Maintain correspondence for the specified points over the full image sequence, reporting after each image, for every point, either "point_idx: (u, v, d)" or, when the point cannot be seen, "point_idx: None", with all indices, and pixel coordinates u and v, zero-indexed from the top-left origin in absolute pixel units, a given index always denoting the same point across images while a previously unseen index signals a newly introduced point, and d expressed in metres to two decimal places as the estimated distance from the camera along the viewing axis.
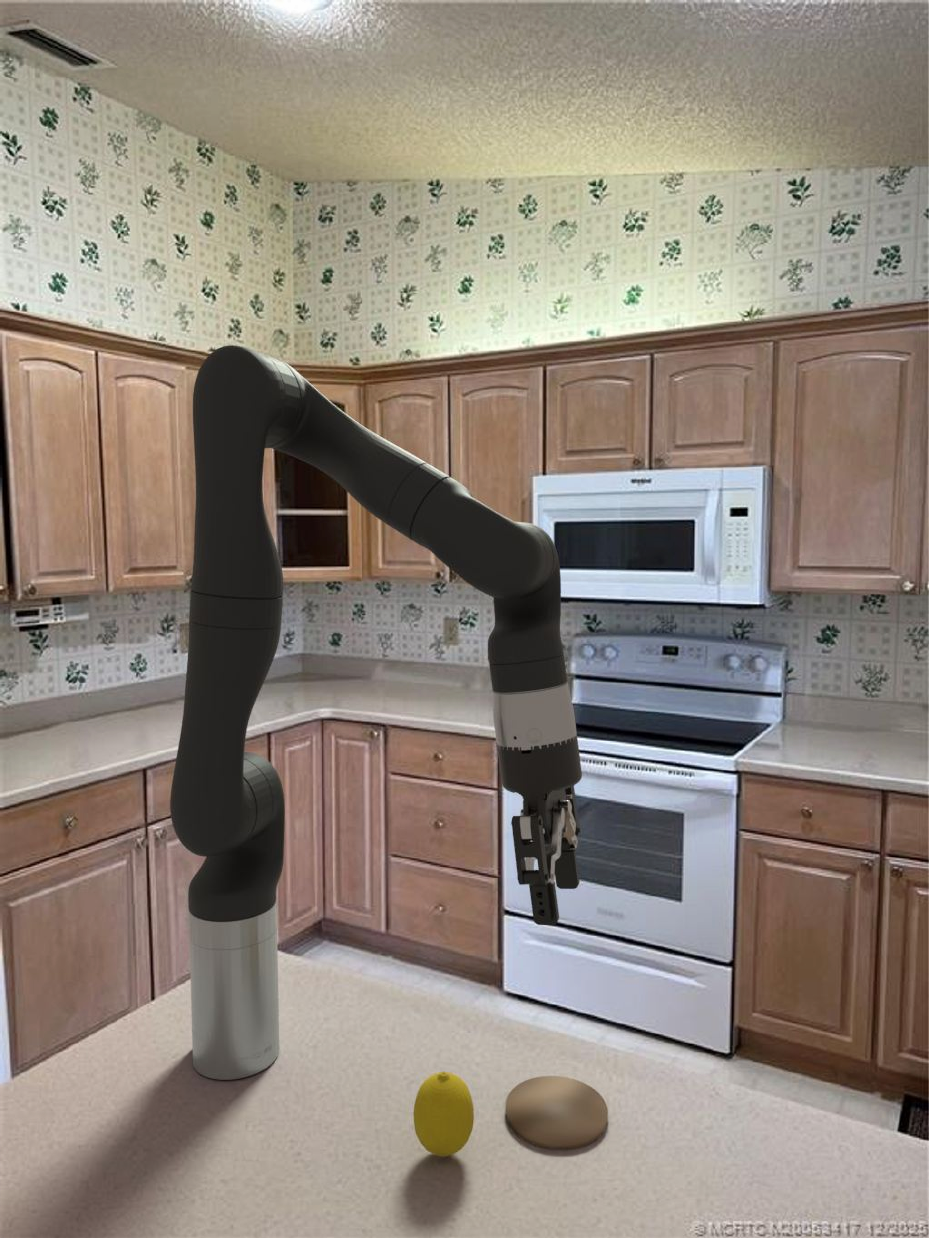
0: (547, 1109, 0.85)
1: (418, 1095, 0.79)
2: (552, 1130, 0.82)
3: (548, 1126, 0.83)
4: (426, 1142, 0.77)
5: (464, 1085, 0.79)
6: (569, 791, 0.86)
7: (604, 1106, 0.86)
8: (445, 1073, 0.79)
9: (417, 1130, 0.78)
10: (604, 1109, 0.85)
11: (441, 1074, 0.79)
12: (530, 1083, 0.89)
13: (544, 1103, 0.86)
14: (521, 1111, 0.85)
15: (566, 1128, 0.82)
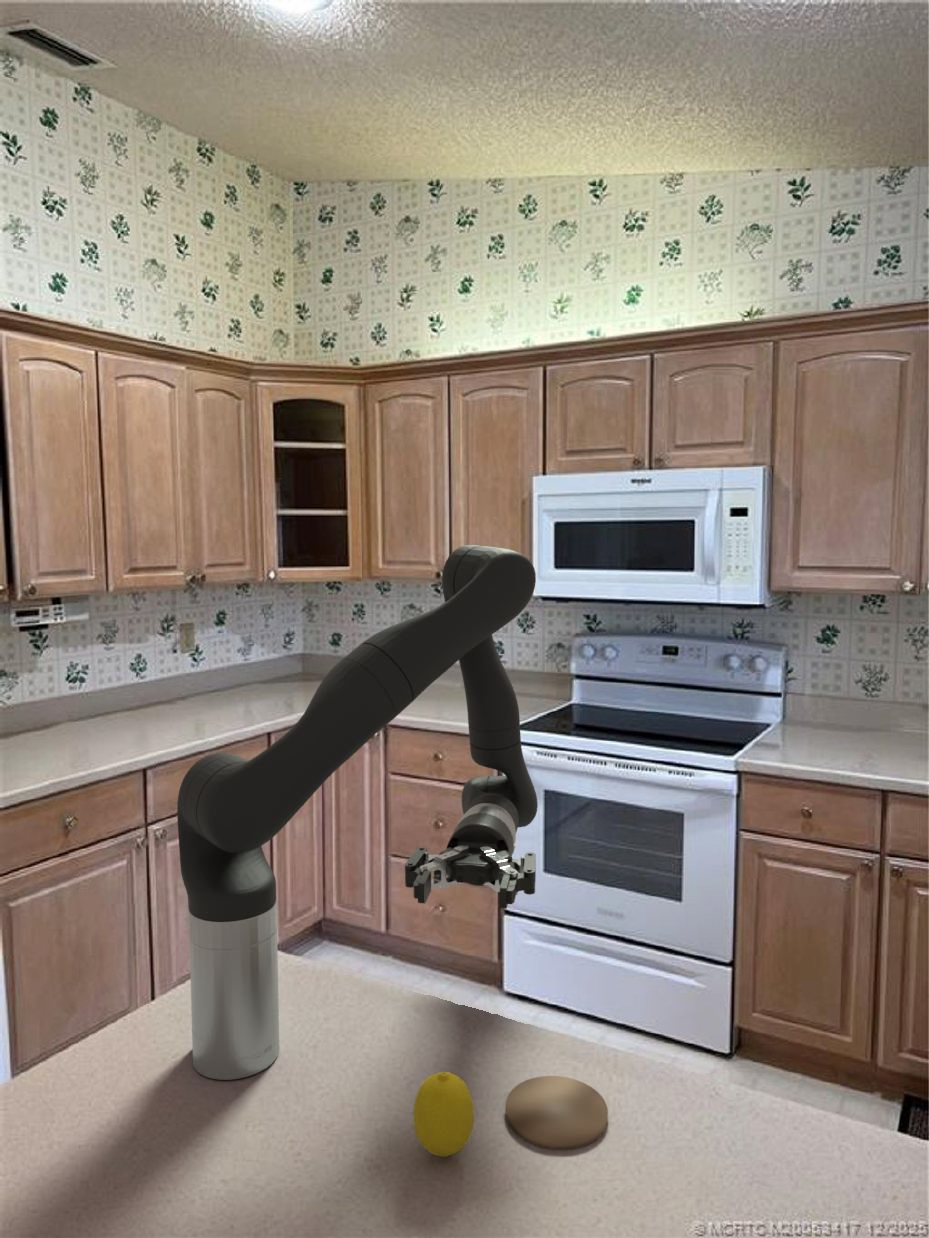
0: (547, 1109, 0.85)
1: (418, 1095, 0.79)
2: (552, 1130, 0.82)
3: (548, 1126, 0.83)
4: (426, 1142, 0.77)
5: (464, 1085, 0.79)
6: None
7: (604, 1106, 0.86)
8: (445, 1073, 0.79)
9: (417, 1130, 0.78)
10: (604, 1109, 0.85)
11: (441, 1074, 0.79)
12: (530, 1083, 0.89)
13: (544, 1103, 0.86)
14: (521, 1111, 0.85)
15: (566, 1128, 0.82)
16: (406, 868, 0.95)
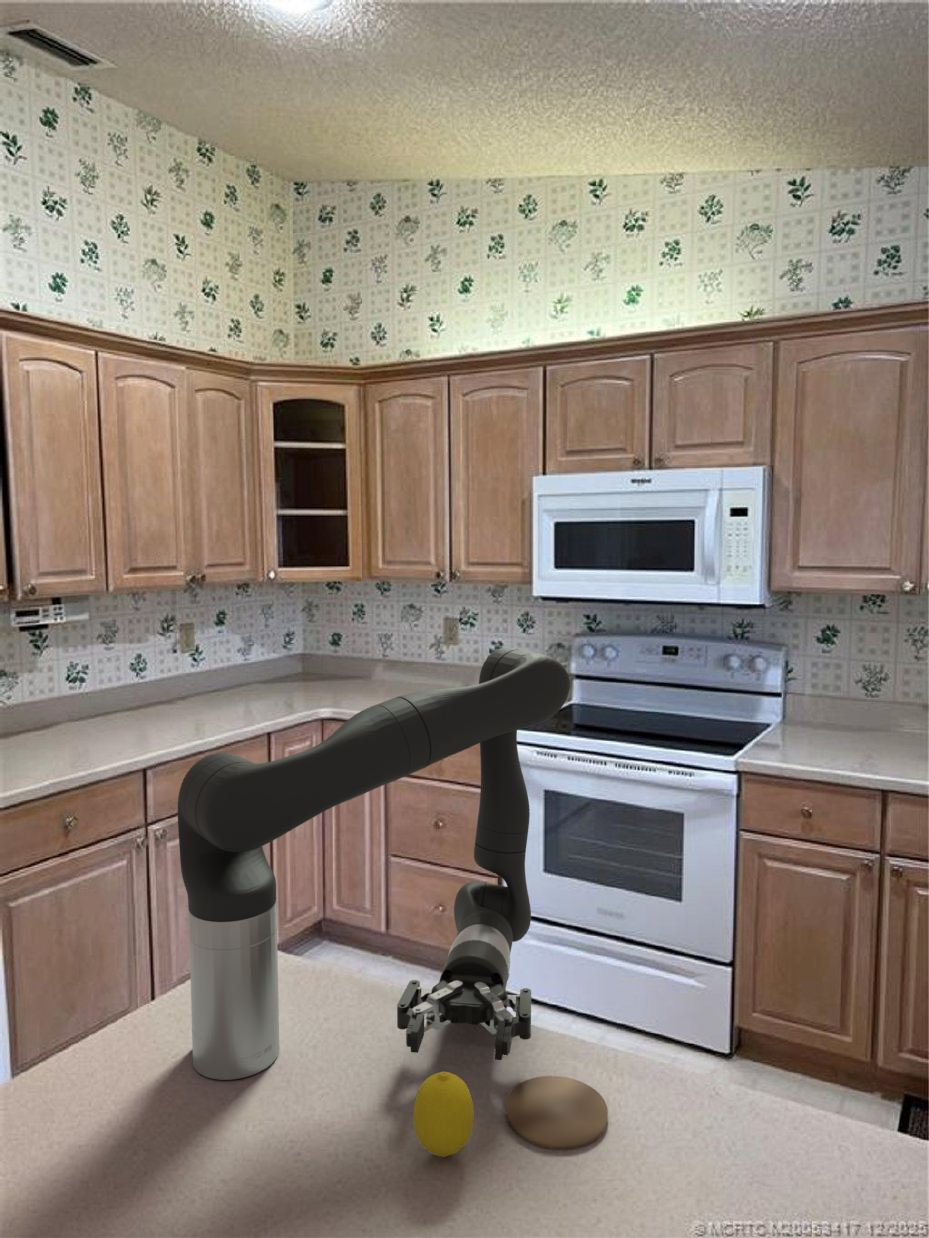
0: (547, 1109, 0.85)
1: (418, 1095, 0.79)
2: (552, 1130, 0.82)
3: (548, 1126, 0.83)
4: (426, 1142, 0.77)
5: (464, 1085, 0.79)
6: None
7: (604, 1106, 0.86)
8: (445, 1073, 0.79)
9: (417, 1130, 0.78)
10: (604, 1109, 0.85)
11: (441, 1074, 0.79)
12: (530, 1083, 0.89)
13: (544, 1103, 0.86)
14: (521, 1111, 0.85)
15: (566, 1128, 0.82)
16: (398, 1009, 0.92)
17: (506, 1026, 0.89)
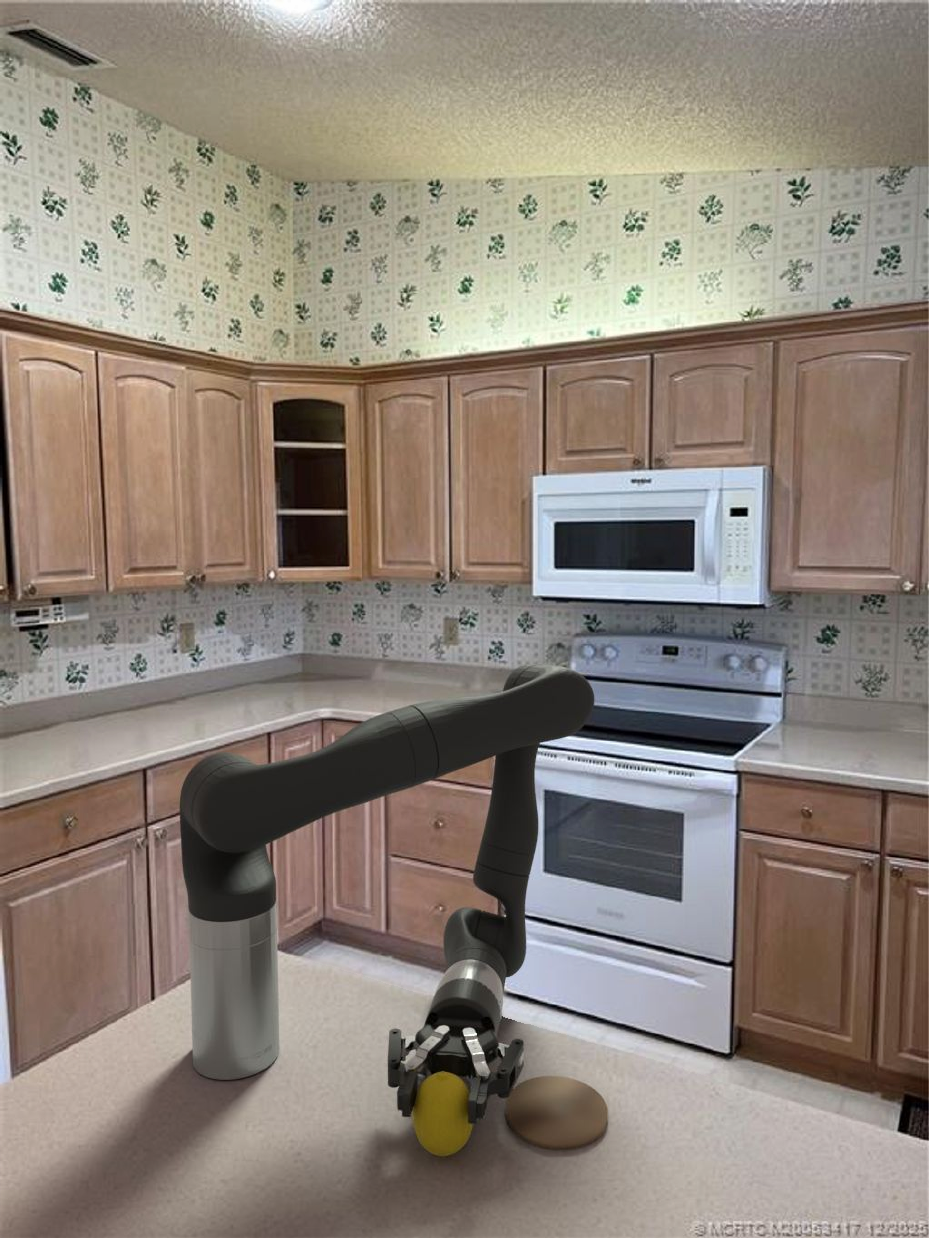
0: (547, 1109, 0.85)
1: (417, 1096, 0.79)
2: (552, 1130, 0.82)
3: (548, 1126, 0.83)
4: (426, 1142, 0.77)
5: (463, 1085, 0.79)
6: None
7: (604, 1106, 0.86)
8: (444, 1073, 0.79)
9: (417, 1130, 0.78)
10: (604, 1109, 0.85)
11: (440, 1074, 0.79)
12: (530, 1083, 0.89)
13: (544, 1103, 0.86)
14: (521, 1111, 0.85)
15: (566, 1128, 0.82)
16: (390, 1066, 0.82)
17: (482, 1084, 0.80)
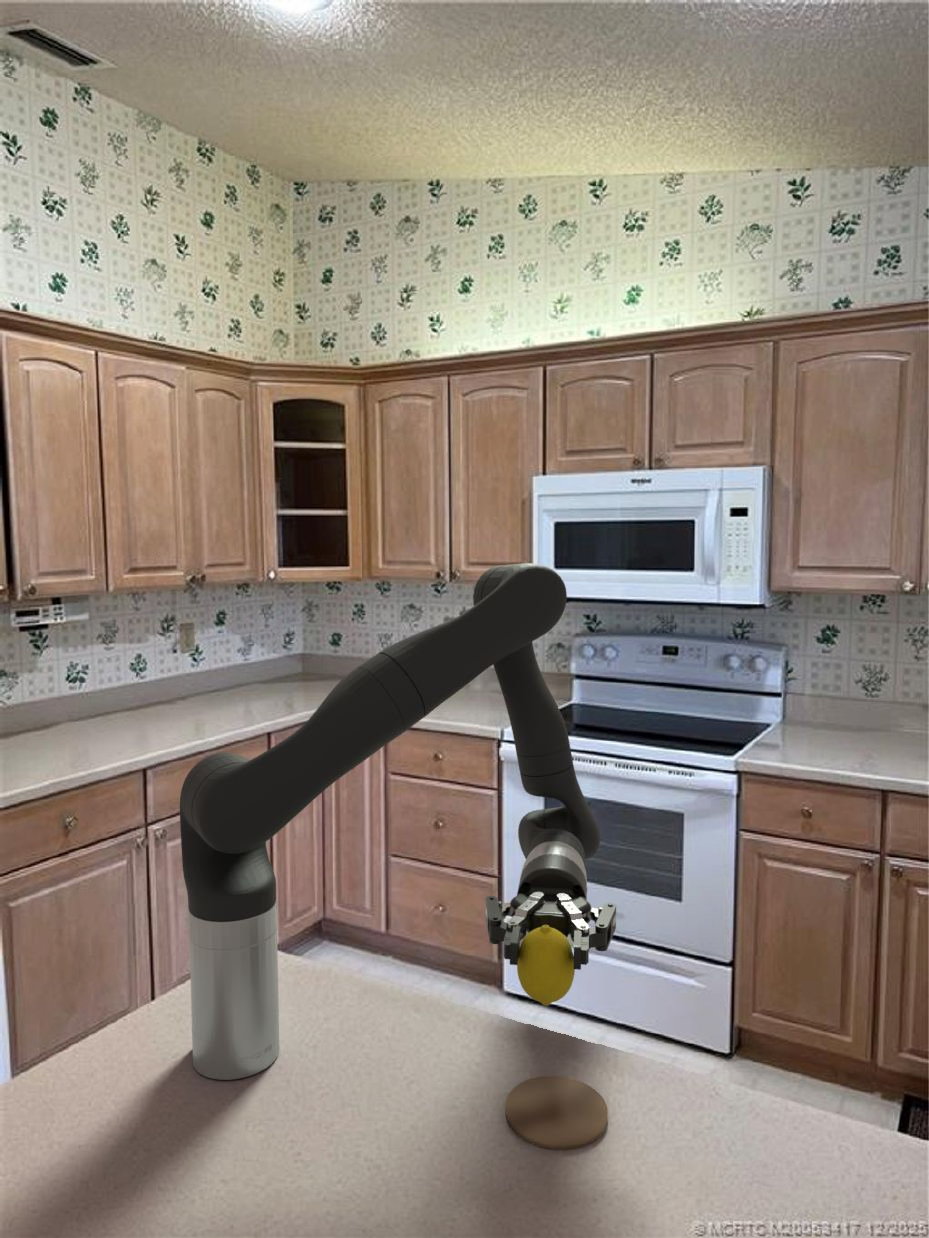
0: (547, 1109, 0.85)
1: (522, 947, 0.83)
2: (552, 1130, 0.82)
3: (548, 1126, 0.83)
4: (532, 988, 0.82)
5: (565, 937, 0.84)
6: None
7: (604, 1106, 0.86)
8: (547, 926, 0.83)
9: (522, 978, 0.82)
10: (604, 1109, 0.85)
11: (543, 926, 0.83)
12: (530, 1083, 0.89)
13: (544, 1103, 0.86)
14: (521, 1111, 0.85)
15: (566, 1128, 0.82)
16: (493, 923, 0.86)
17: (582, 936, 0.84)
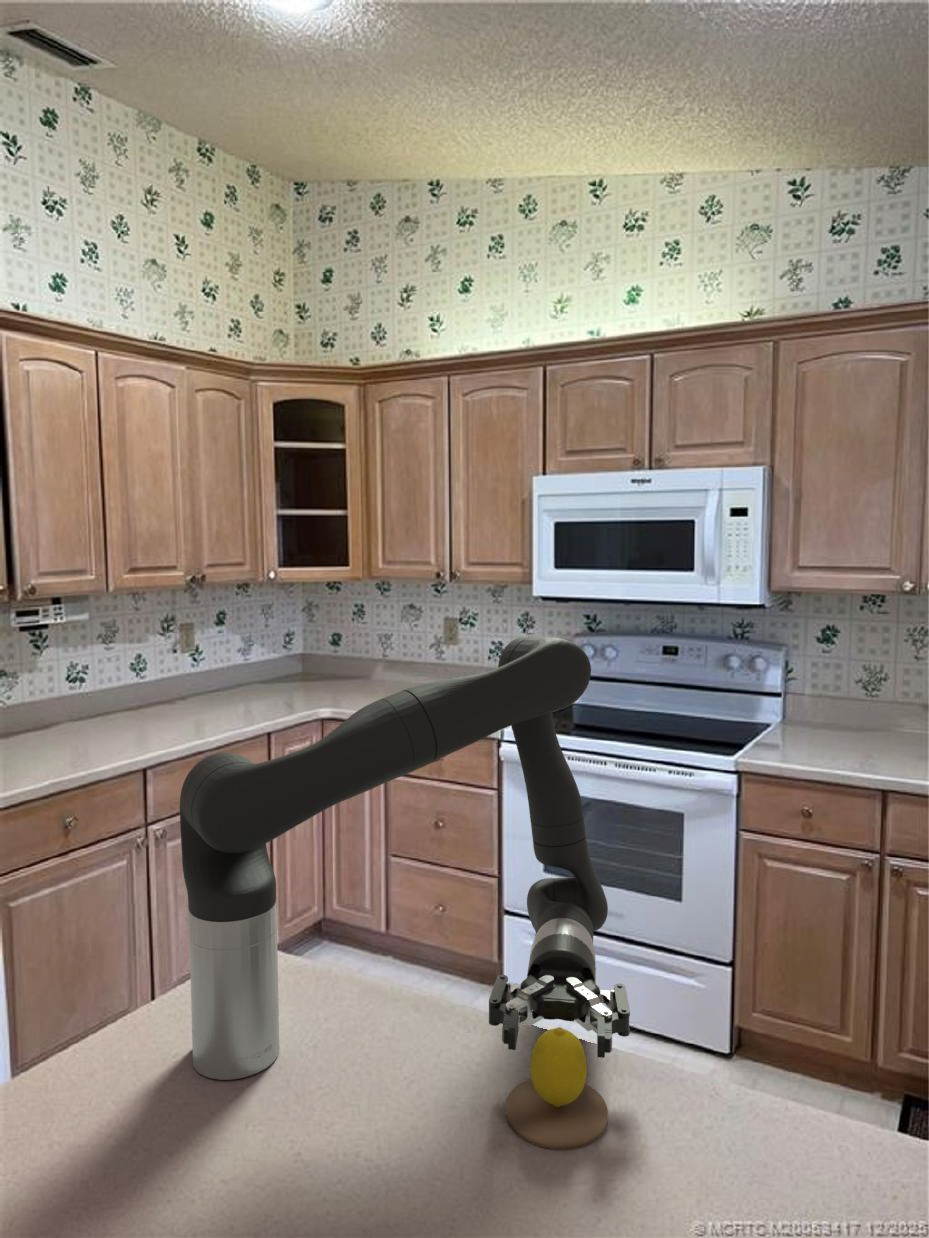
0: (547, 1109, 0.85)
1: (535, 1049, 0.85)
2: (552, 1130, 0.82)
3: (548, 1126, 0.83)
4: (545, 1092, 0.83)
5: (578, 1040, 0.85)
6: None
7: (604, 1106, 0.86)
8: (561, 1028, 0.85)
9: (535, 1080, 0.84)
10: (604, 1109, 0.85)
11: (557, 1029, 0.85)
12: (530, 1083, 0.89)
13: (544, 1103, 0.86)
14: (521, 1111, 0.85)
15: (566, 1128, 0.82)
16: (491, 1005, 0.89)
17: (605, 1022, 0.86)
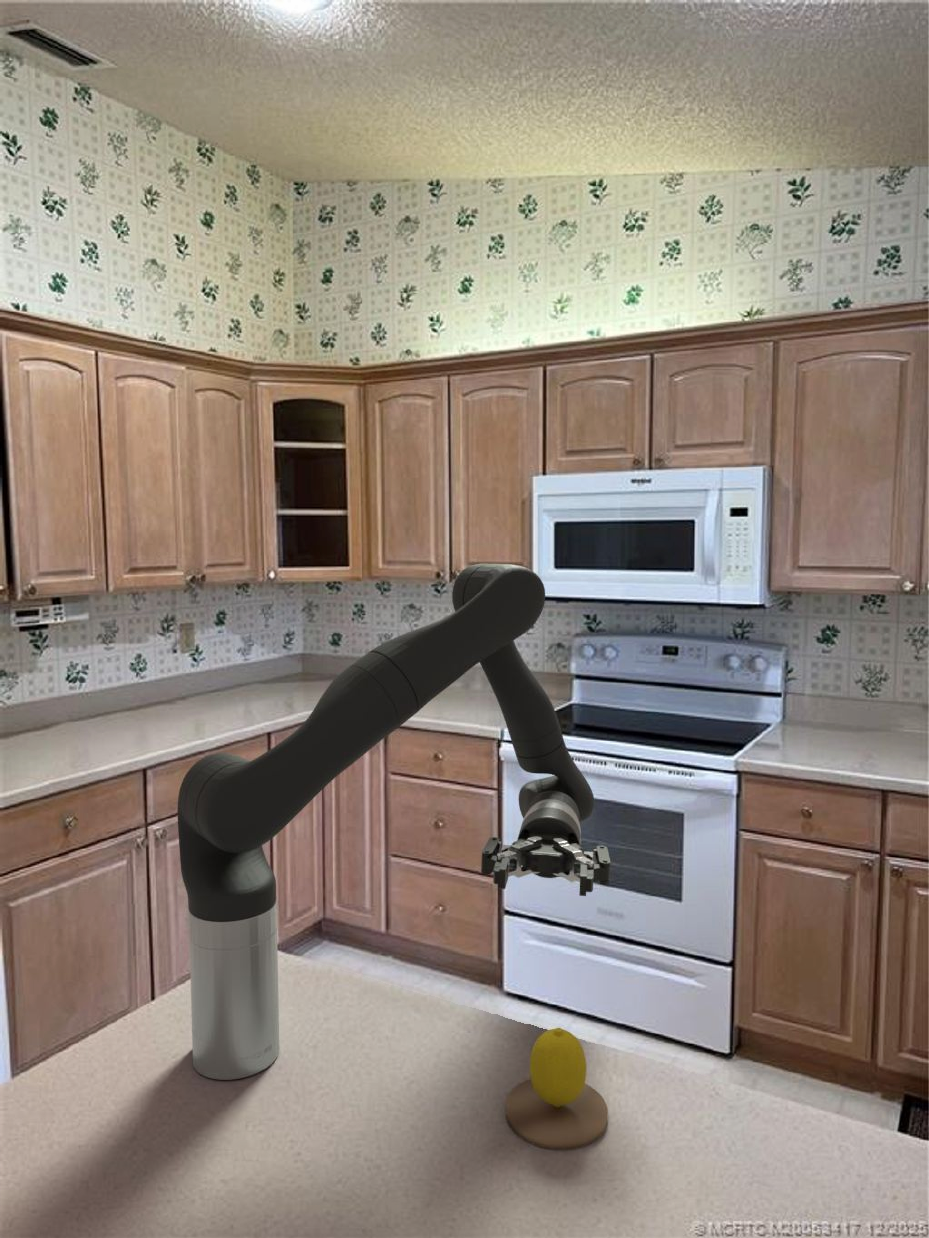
0: (547, 1109, 0.85)
1: (535, 1049, 0.85)
2: (552, 1130, 0.82)
3: (548, 1126, 0.83)
4: (544, 1092, 0.83)
5: (577, 1040, 0.85)
6: None
7: (604, 1106, 0.86)
8: (560, 1029, 0.85)
9: (535, 1081, 0.84)
10: (604, 1109, 0.85)
11: (556, 1030, 0.85)
12: (530, 1083, 0.89)
13: (544, 1103, 0.86)
14: (521, 1111, 0.85)
15: (566, 1128, 0.82)
16: (483, 855, 0.97)
17: (588, 869, 0.94)
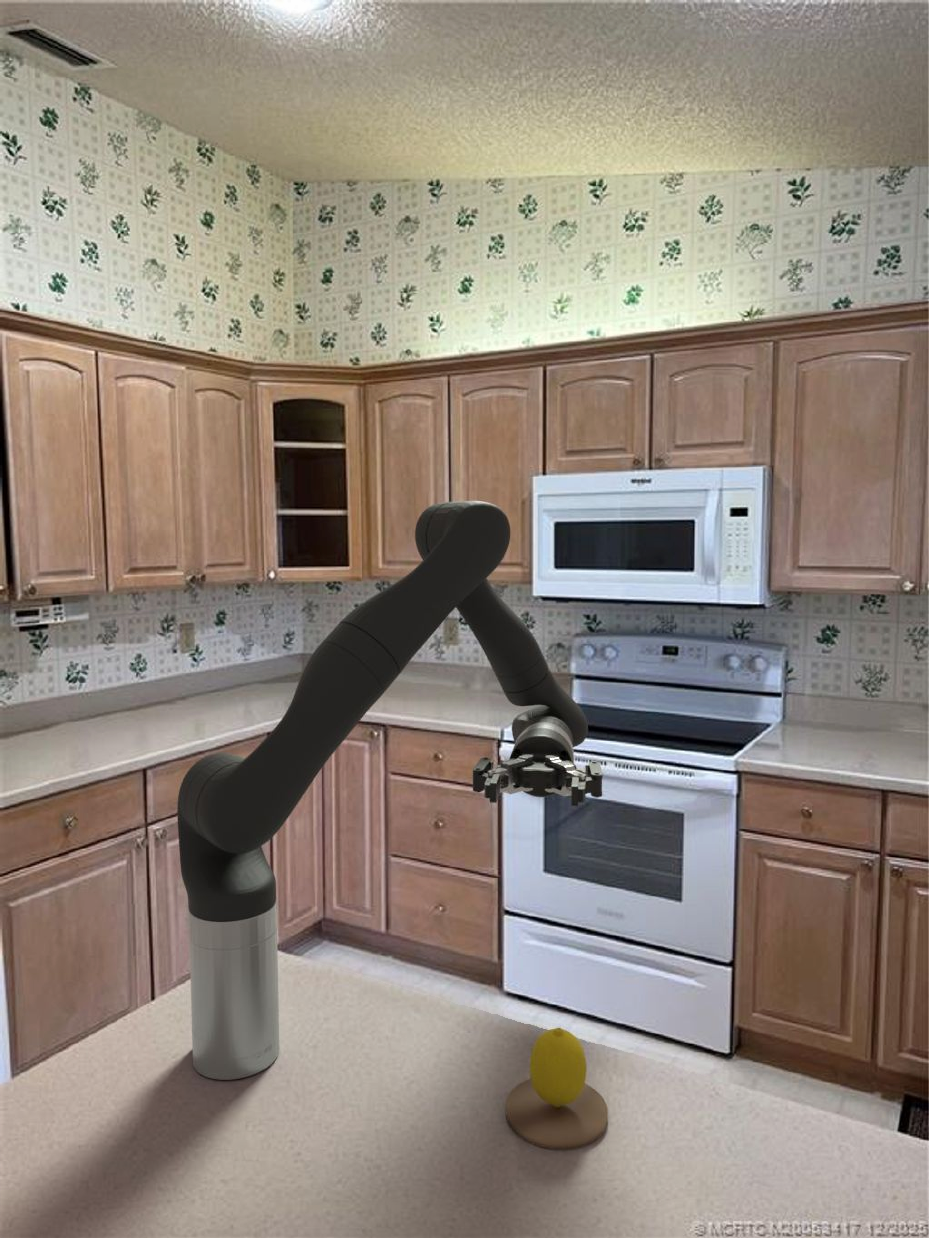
0: (547, 1109, 0.85)
1: (535, 1049, 0.85)
2: (552, 1130, 0.82)
3: (548, 1126, 0.83)
4: (544, 1092, 0.83)
5: (577, 1040, 0.85)
6: None
7: (604, 1106, 0.86)
8: (560, 1029, 0.85)
9: (535, 1081, 0.84)
10: (604, 1109, 0.85)
11: (556, 1030, 0.85)
12: (530, 1083, 0.89)
13: (544, 1103, 0.86)
14: (521, 1111, 0.85)
15: (566, 1128, 0.82)
16: (474, 773, 0.96)
17: (580, 782, 0.93)
